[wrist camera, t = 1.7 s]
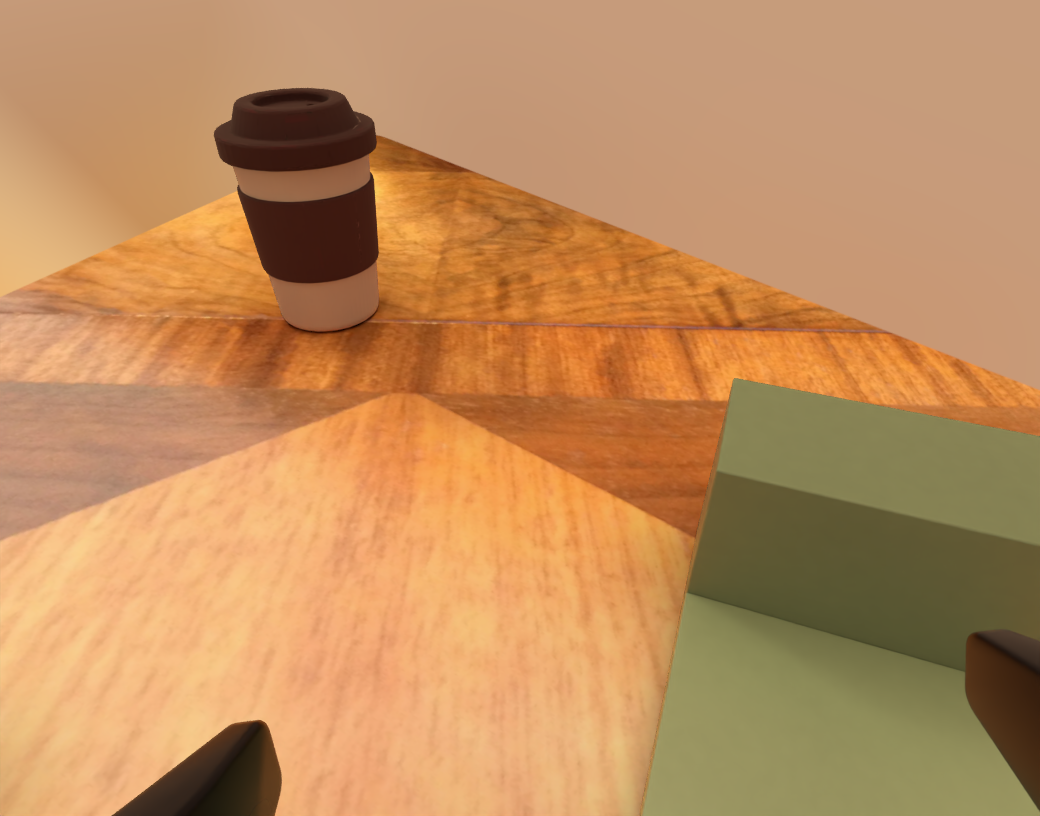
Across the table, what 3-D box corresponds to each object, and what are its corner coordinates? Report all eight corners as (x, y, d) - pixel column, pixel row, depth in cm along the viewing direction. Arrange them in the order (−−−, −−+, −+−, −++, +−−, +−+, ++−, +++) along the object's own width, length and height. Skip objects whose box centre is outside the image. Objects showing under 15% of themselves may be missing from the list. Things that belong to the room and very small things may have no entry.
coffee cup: (245, 344, 46) (178, 116, 37) (285, 281, 54) (238, 82, 44) (386, 344, 46) (353, 117, 37) (405, 281, 54) (382, 82, 45)
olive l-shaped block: (1114, 1213, 15) (1454, 1182, 9) (606, 977, 18) (643, 854, 13) (973, 599, 28) (1080, 442, 23) (697, 528, 32) (733, 376, 26)
